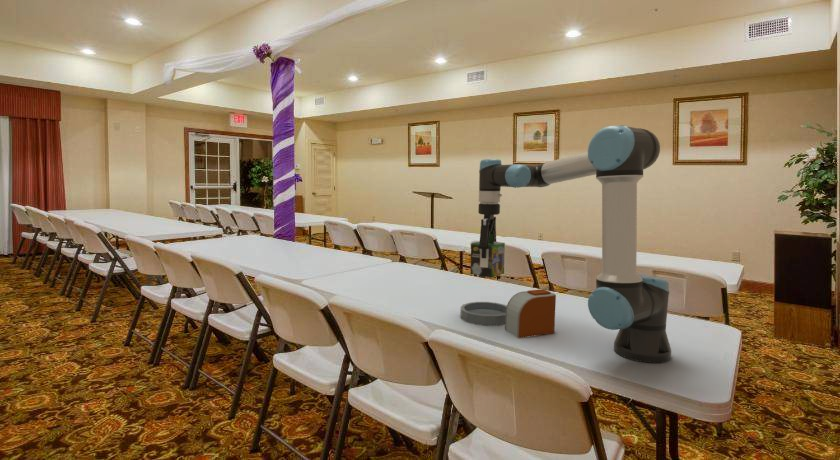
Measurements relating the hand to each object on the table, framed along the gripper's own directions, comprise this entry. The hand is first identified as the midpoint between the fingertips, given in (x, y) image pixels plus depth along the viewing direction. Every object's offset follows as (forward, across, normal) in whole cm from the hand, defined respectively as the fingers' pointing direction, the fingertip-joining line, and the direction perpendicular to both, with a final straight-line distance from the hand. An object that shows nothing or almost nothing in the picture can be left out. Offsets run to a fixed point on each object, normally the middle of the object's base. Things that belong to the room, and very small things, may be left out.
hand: (487, 264), depth 167 cm
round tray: (+20, 0, 0) cm, 20 cm away
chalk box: (+4, 0, 0) cm, 4 cm away
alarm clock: (+20, -10, -17) cm, 28 cm away
